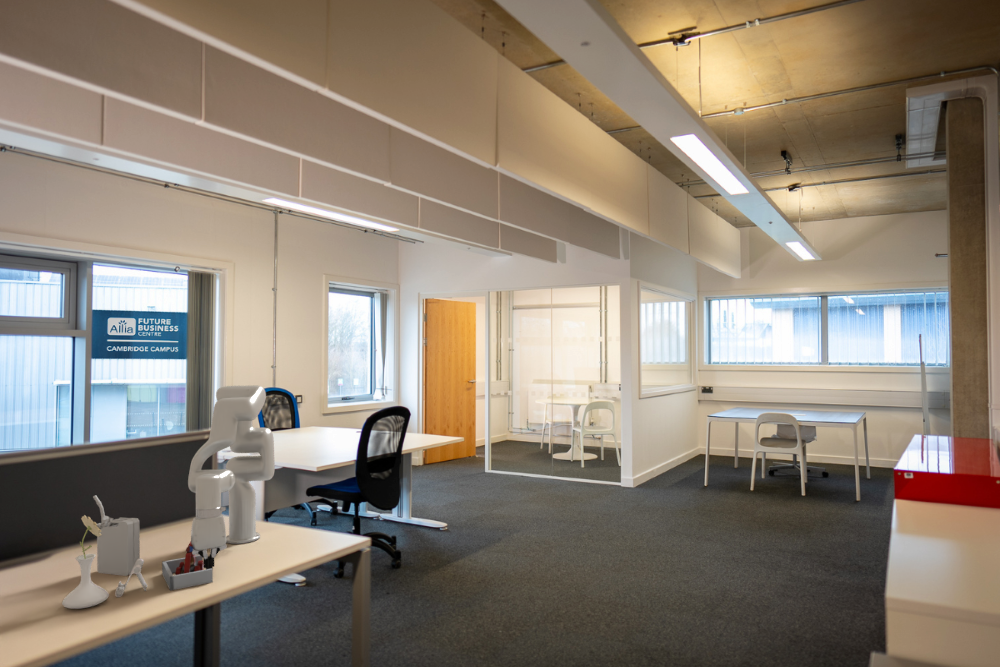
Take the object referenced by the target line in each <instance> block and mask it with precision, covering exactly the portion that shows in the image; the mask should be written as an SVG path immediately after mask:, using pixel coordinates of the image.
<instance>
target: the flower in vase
mask: <svg viewBox="0 0 1000 667" xmlns="http://www.w3.org/2000/svg"><path fill="white" fill-rule="evenodd" d="M80 519H81V521H82V523H83V525H84V527H86V530H85V533H84V535H83V537H82V539H81V541H79V544H80V545H79V546H80V547H82V548H81V549H82V551H81V552H82V553H83V554H81V555H78V556H76V557H75V558H74V559H75V560H76V561H77V562H78V564H79V568H80V575H81V576H80V581H79V584H78V585H77V586H76V587H75V588H74V589H73V590H72V591H70V592H69V593H68V594H67V595H66V596H65V597H64V598H63V599H62V600H63V601H62V602H61V604H62V606H63V607H64V608H66V609H72V610H73V609H75V610H77V609H78V610H79V609H85V608H90V607H94V606H97V605H99V604H101V603H103V602H105V601H106V600H107V599H108V598H109V596H110V594H109V591H107V589H105V588H103V587H101V586H100V585H98V584H96V583H94V582H93V580H92V579H91V568H92V563H93V562H94V559H95V557H96V556H97V554H95V553H85V551H87V550H89V549H90V548H92V545H91V544H89V546H87V548H85V547H84V540H85V537H86V535H87V534H88V531H89V532H90V533H92V534H93V535H94V536H96V537H97V536H98V537H100V536H101V535H102V534H101V533H100V532H101V530H100V529H101V528H99V527H98V526H97V524H98V523H97V522H96V521H93V519H91V517H90V516H86V515H85V514H84V515H83V516H81V518H80Z"/></svg>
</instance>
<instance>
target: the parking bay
mask: <svg viewBox="0 0 1000 667" xmlns="http://www.w3.org/2000/svg"><path fill="white" fill-rule="evenodd" d="M184 559H185V557H181V558H175V559H170V560H169V559H168V560H164V561H161V565H162V566H161V572H162V576H163V579H164V581H165V583H166V585H167V587H168V589H169V591H175V590H180V589H184V588H189V587H194V586H199V585H205V584H211V583H213V582H214V581H213V579H214V578H213V577H214V576H213V569H214V568H213V569H212V568H211V569H206V568H205V569H203V570H201V571H195V572H190V573H185V574H179V575H174V574H175V573H176V568H177V567H179V565H180V563H181V562H184ZM200 560H203V561H204V558H203V557H202V556H200V555H196V557H195V566H197V563H198V561H200Z"/></svg>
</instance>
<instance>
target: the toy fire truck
mask: <svg viewBox="0 0 1000 667" xmlns="http://www.w3.org/2000/svg"><path fill="white" fill-rule="evenodd" d="M188 543H189V544H188V545H187V547H186V548H185V552H186V554H185V556H184V558H185V559H184V562H181V563H180V565H179V567H177V568H176V572H175V573H174V574H175V575H179V574H185V573H190V572H195V571H201V570H204V569H205V568H204V559H203V560H200V561H198V563H197V566H195V557H196V556H197V555H195V554H192V551H193V545H191V540H190V542H188Z"/></svg>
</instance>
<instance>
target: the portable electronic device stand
mask: <svg viewBox="0 0 1000 667" xmlns="http://www.w3.org/2000/svg"><path fill="white" fill-rule="evenodd" d="M144 562H145V560H144V559H143V558H141V557H140V558H139V559H137V561H136V562H135V565H134V567H133V569H132V571H131V573H130V575H128V578H127V581H126V582H125V583H122V581H121V580H119V582H118V585H117V587H116V589H115V593H114V595H115V597H116V598H120V597H122V596H123V594H124V593H125V590H126V588H127V585H128V584H129V581H130V579H131V577H132V576H133V574H135V575H136V577H137V579H138V581H139V583H140V584H141V588H142V589H143V591H145V592H147V588H148V584H147V583H146V581H145V578H144V577H143V575H142V573H141V572H142V569H143V566H144Z"/></svg>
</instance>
